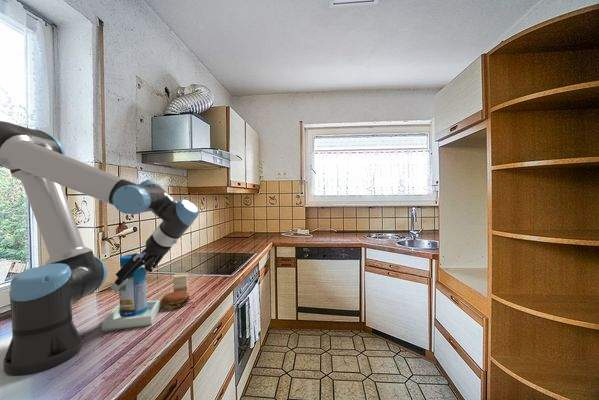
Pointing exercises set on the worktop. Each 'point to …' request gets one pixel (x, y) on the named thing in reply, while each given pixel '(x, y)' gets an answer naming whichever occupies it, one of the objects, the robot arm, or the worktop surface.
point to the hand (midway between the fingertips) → (124, 285)
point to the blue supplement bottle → (133, 292)
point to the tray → (130, 318)
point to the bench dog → (180, 282)
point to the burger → (175, 299)
